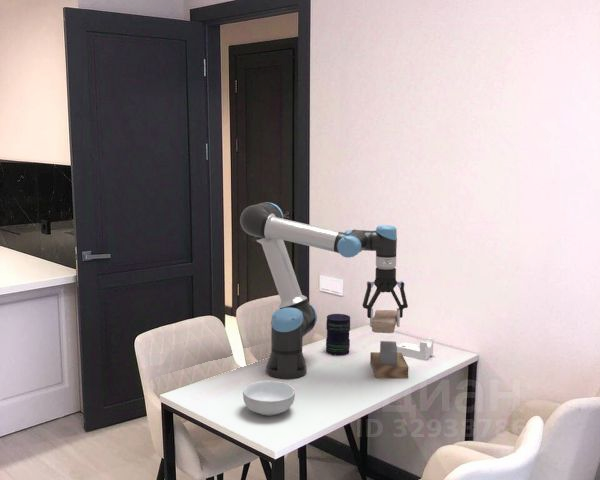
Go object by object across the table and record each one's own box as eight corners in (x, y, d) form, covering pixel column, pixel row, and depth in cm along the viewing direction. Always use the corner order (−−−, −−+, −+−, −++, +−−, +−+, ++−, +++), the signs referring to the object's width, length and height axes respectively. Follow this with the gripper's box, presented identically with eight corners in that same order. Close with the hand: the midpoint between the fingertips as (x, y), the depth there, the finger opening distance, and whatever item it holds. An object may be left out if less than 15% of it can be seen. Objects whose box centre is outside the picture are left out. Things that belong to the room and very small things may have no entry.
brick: (394, 333, 238) (394, 321, 237) (371, 332, 239) (371, 320, 239) (397, 322, 254) (397, 310, 253) (375, 320, 255) (375, 309, 255)
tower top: (380, 364, 244) (380, 351, 244) (379, 353, 257) (380, 340, 256) (396, 365, 244) (397, 352, 243) (395, 353, 257) (395, 341, 256)
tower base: (375, 379, 243) (376, 366, 242) (370, 364, 259) (370, 352, 258) (407, 379, 243) (408, 366, 242) (400, 364, 259) (401, 352, 258)
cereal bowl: (233, 407, 215) (233, 386, 214) (276, 396, 224) (276, 376, 223) (260, 426, 201) (260, 404, 200) (304, 414, 211) (305, 393, 210)
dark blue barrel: (320, 352, 271) (321, 317, 269) (335, 346, 278) (336, 312, 276) (340, 357, 265) (341, 321, 262) (354, 351, 272) (355, 316, 270)
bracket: (432, 356, 269) (433, 338, 267) (425, 361, 263) (426, 343, 262) (404, 350, 276) (404, 332, 275) (396, 354, 270) (396, 336, 269)
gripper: (357, 269, 239) (356, 329, 242) (417, 269, 240) (415, 328, 243) (355, 265, 246) (354, 323, 250) (413, 265, 247) (411, 323, 250)
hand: (384, 326), depth 246 cm, fingers closed on brick, 9 cm apart
